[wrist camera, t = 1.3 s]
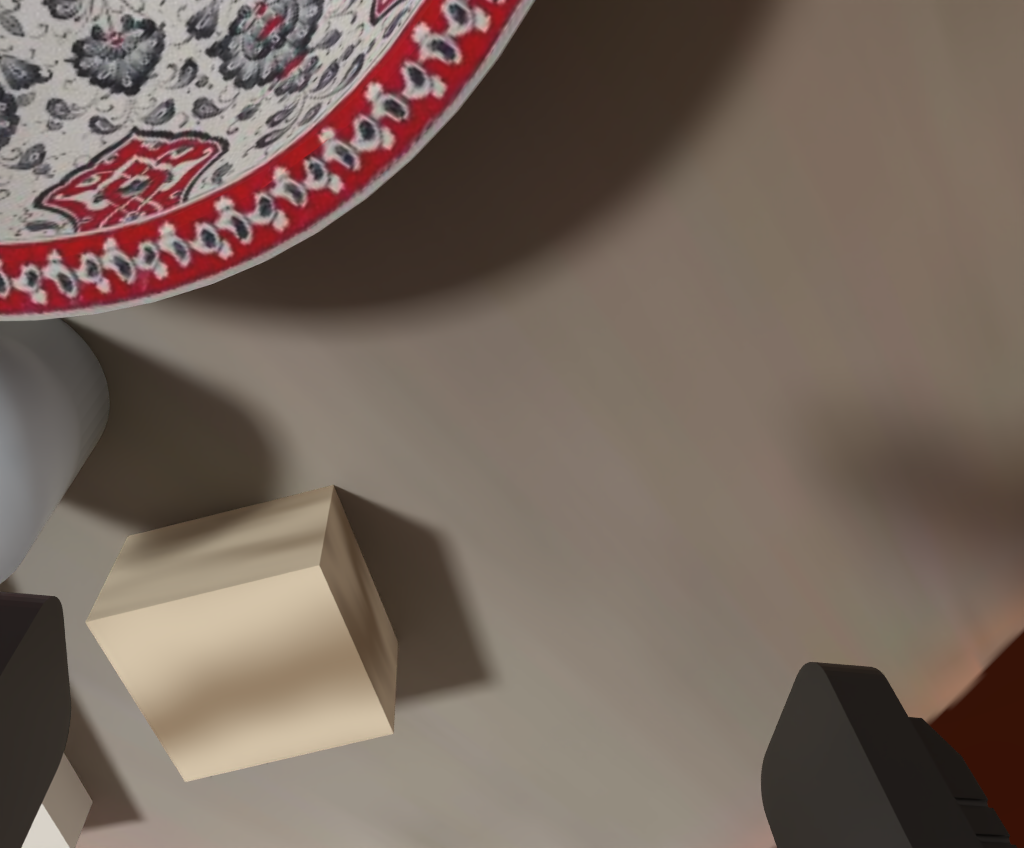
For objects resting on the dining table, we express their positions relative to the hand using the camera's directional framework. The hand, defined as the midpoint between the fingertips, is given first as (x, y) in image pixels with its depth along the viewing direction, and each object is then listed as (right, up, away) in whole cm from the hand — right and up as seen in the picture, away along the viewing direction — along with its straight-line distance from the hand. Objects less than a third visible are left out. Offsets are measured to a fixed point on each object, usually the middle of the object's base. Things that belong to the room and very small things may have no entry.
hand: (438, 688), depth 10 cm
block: (-9, -4, +26) cm, 28 cm away
